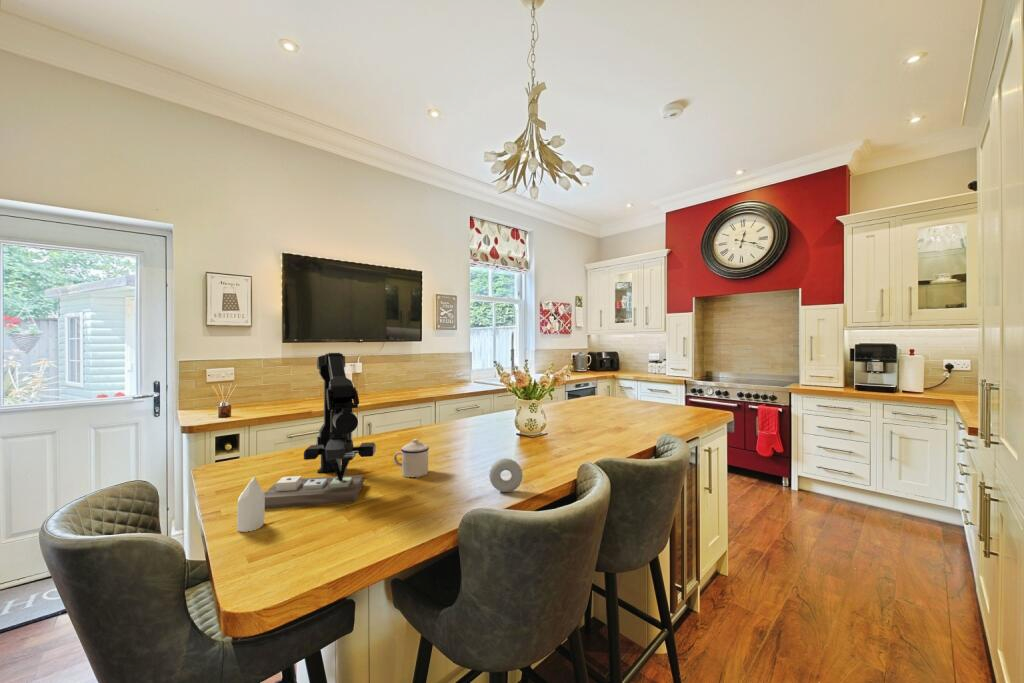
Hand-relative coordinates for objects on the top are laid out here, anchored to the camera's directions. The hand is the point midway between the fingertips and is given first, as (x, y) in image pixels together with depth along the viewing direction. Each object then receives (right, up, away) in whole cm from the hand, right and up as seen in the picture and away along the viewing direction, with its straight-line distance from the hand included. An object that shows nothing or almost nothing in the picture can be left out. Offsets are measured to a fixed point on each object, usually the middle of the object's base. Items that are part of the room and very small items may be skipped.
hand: (340, 480), depth 116 cm
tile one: (-14, -2, -3) cm, 14 cm away
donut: (+48, -5, +2) cm, 49 cm away
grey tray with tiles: (-7, -4, -1) cm, 8 cm away
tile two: (-7, -3, -1) cm, 8 cm away
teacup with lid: (+16, -4, +18) cm, 25 cm away
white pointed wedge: (-13, -4, -20) cm, 24 cm away
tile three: (0, -3, 0) cm, 3 cm away
